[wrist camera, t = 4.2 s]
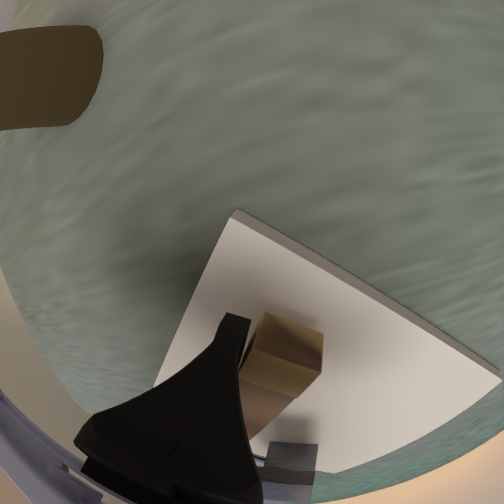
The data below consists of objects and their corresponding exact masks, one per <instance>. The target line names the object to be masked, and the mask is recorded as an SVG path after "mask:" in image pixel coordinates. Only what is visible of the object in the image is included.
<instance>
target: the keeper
mask: <svg viewBox="0 0 504 504" xmlns="http://www.w3.org/2000/svg"><path fill="white" fill-rule="evenodd" d="M318 445H319V444H302V443H286V442H275V441H270V443H269V447H268V451H267V455H266V459H265V462H264V466H263V467H258V466H257V468H258V471H259V474H260V476H261V482H262V489H263V499H266V500H274V501H284V502H296V503H309V502H310V497H311V492H312V487H313V482H314V475H315V467H316V460H317V452H318Z"/></svg>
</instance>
